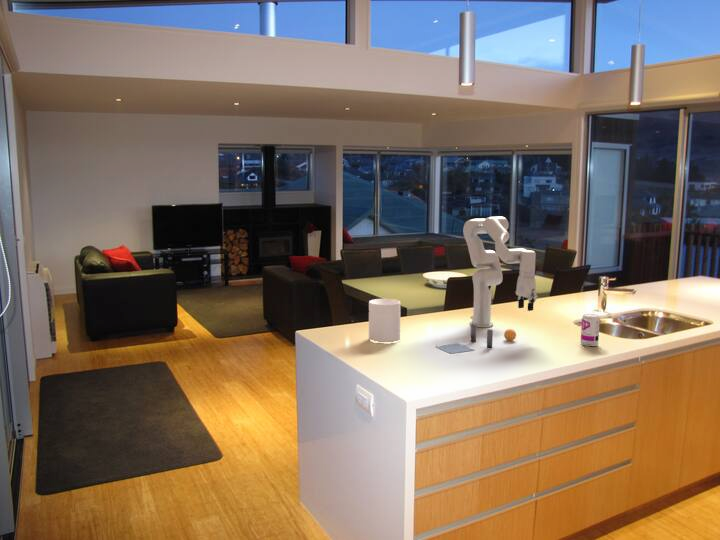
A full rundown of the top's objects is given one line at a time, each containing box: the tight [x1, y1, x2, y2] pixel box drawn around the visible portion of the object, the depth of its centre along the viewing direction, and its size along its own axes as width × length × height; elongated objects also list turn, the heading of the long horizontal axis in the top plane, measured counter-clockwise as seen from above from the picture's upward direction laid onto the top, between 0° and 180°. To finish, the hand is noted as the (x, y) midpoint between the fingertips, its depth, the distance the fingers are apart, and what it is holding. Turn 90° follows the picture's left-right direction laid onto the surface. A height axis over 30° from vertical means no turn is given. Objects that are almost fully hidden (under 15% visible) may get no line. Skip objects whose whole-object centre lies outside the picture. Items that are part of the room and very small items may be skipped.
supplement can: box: [580, 313, 601, 347], centre depth 312 cm, size 8×8×15 cm
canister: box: [368, 298, 402, 342], centre depth 320 cm, size 16×16×20 cm
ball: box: [503, 328, 517, 342], centre depth 320 cm, size 6×6×6 cm
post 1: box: [470, 324, 477, 343], centre depth 318 cm, size 3×3×9 cm
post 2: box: [486, 328, 494, 349], centre depth 306 cm, size 3×3×9 cm
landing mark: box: [436, 342, 475, 355], centre depth 306 cm, size 14×14×1 cm
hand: (525, 308), depth 323 cm, fingers open, 6 cm apart
